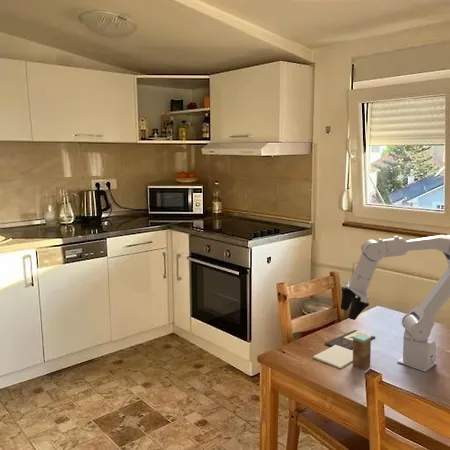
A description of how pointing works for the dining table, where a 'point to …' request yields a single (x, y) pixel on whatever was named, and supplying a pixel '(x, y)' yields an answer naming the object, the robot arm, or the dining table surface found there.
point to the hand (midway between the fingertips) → (347, 314)
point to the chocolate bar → (346, 340)
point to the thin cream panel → (336, 356)
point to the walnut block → (361, 351)
